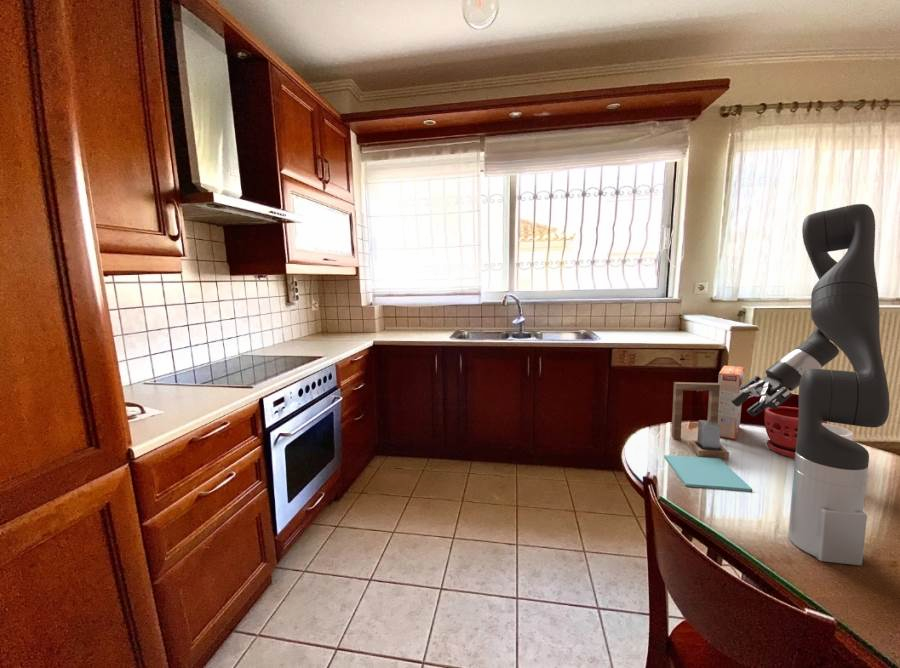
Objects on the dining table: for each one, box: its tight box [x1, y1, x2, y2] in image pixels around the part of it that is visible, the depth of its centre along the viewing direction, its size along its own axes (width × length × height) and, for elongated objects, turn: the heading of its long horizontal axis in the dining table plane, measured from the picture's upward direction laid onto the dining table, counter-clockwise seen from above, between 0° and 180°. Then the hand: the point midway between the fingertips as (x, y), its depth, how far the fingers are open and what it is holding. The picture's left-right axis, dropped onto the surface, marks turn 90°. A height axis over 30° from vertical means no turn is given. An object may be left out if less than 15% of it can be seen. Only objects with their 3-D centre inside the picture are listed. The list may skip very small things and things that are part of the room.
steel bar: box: [696, 419, 721, 450], centre depth 109 cm, size 4×4×9 cm
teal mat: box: [663, 454, 753, 492], centre depth 98 cm, size 16×14×1 cm
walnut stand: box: [671, 381, 730, 460], centre depth 112 cm, size 15×12×18 cm
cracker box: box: [717, 365, 745, 441], centre depth 123 cm, size 14×6×21 cm, turn 139°
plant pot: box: [763, 406, 828, 459], centre depth 107 cm, size 13×13×12 cm
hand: (741, 408), depth 106 cm, fingers open, 8 cm apart
